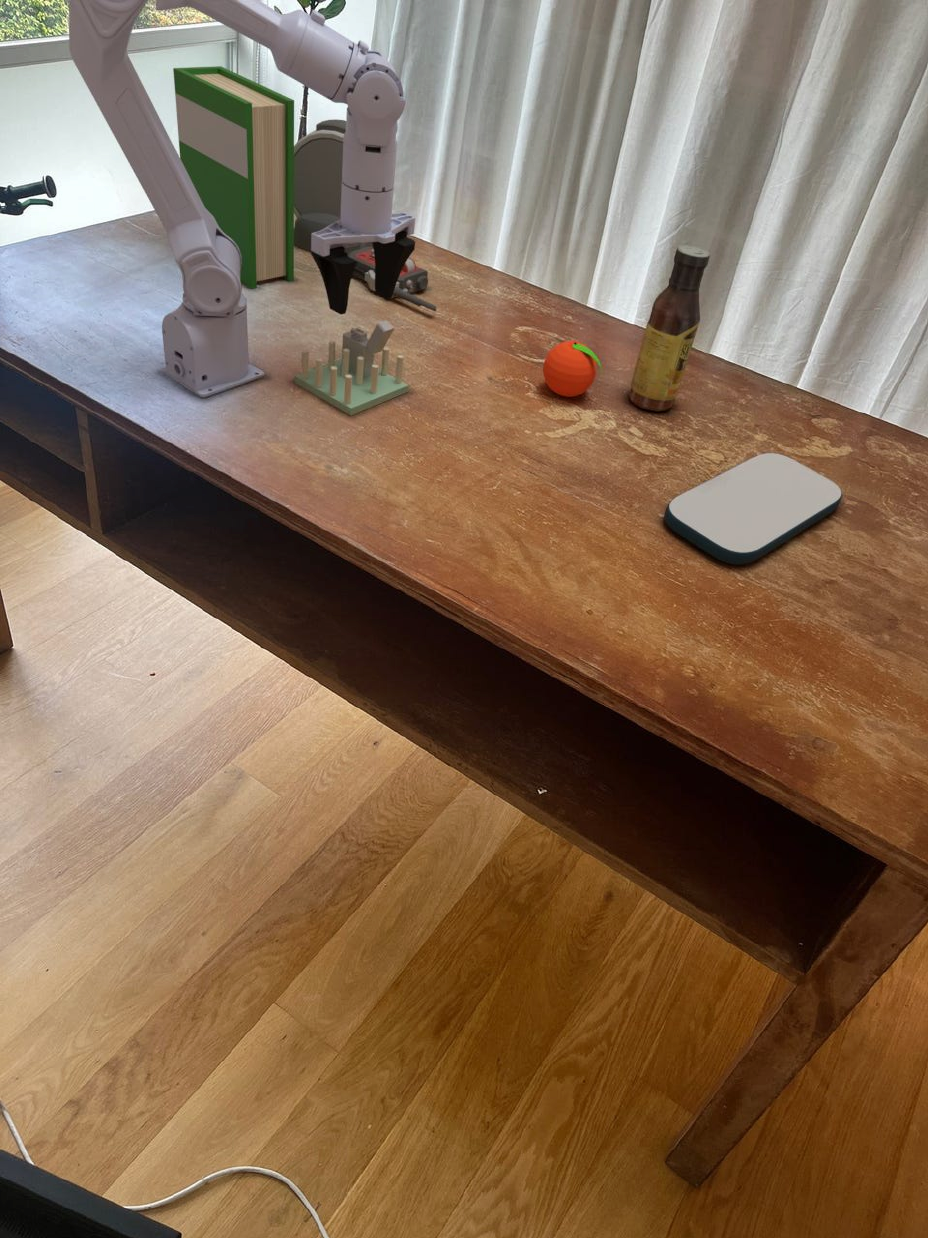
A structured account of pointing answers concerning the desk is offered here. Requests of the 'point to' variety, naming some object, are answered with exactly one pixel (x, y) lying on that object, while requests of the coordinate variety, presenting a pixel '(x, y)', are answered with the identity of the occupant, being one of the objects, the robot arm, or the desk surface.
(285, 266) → the hardback book
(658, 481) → the desk surface
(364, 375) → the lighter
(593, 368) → the clementine
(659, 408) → the sauce bottle
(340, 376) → the dish rack
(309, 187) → the alarm clock
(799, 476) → the external hard drive
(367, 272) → the walkie-talkie
